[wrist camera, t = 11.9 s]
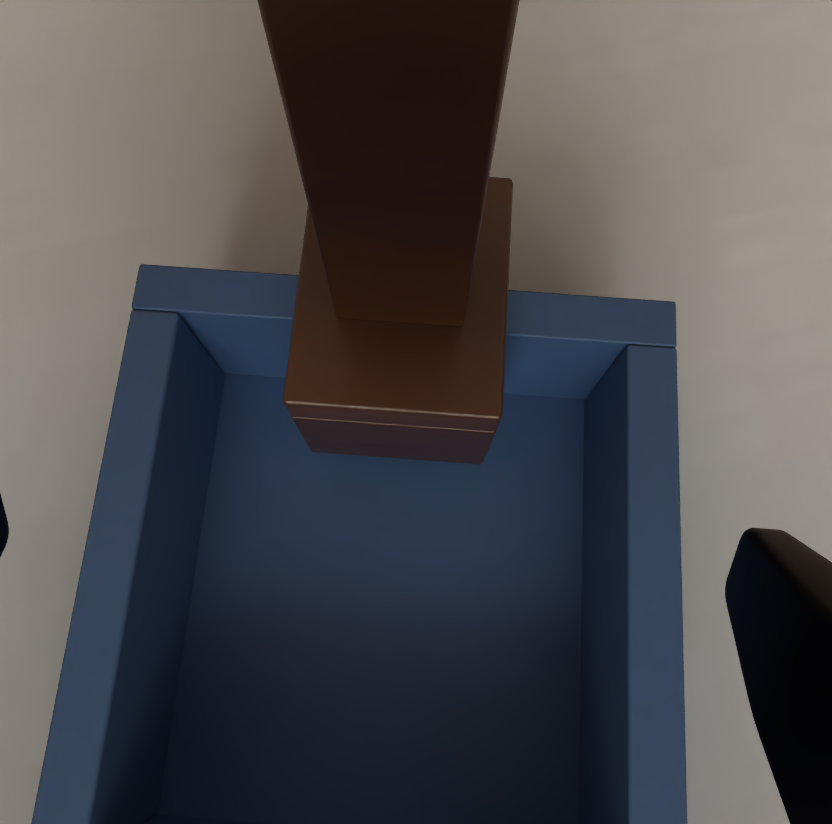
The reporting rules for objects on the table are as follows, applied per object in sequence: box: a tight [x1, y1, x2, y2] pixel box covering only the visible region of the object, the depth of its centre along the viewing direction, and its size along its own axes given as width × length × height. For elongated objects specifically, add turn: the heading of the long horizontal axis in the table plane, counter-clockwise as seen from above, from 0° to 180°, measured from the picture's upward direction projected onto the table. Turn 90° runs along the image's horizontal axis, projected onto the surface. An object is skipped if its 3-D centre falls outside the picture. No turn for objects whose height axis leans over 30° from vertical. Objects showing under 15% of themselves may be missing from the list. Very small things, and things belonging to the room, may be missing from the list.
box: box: [31, 264, 687, 824], centre depth 16 cm, size 12×11×4 cm
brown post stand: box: [257, 0, 519, 465], centre depth 12 cm, size 5×4×13 cm
